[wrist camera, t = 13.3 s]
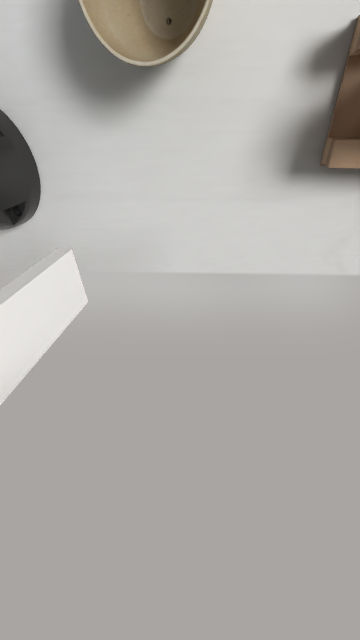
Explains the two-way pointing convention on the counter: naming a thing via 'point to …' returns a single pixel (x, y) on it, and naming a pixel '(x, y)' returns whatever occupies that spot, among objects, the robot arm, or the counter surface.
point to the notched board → (346, 114)
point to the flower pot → (146, 27)
